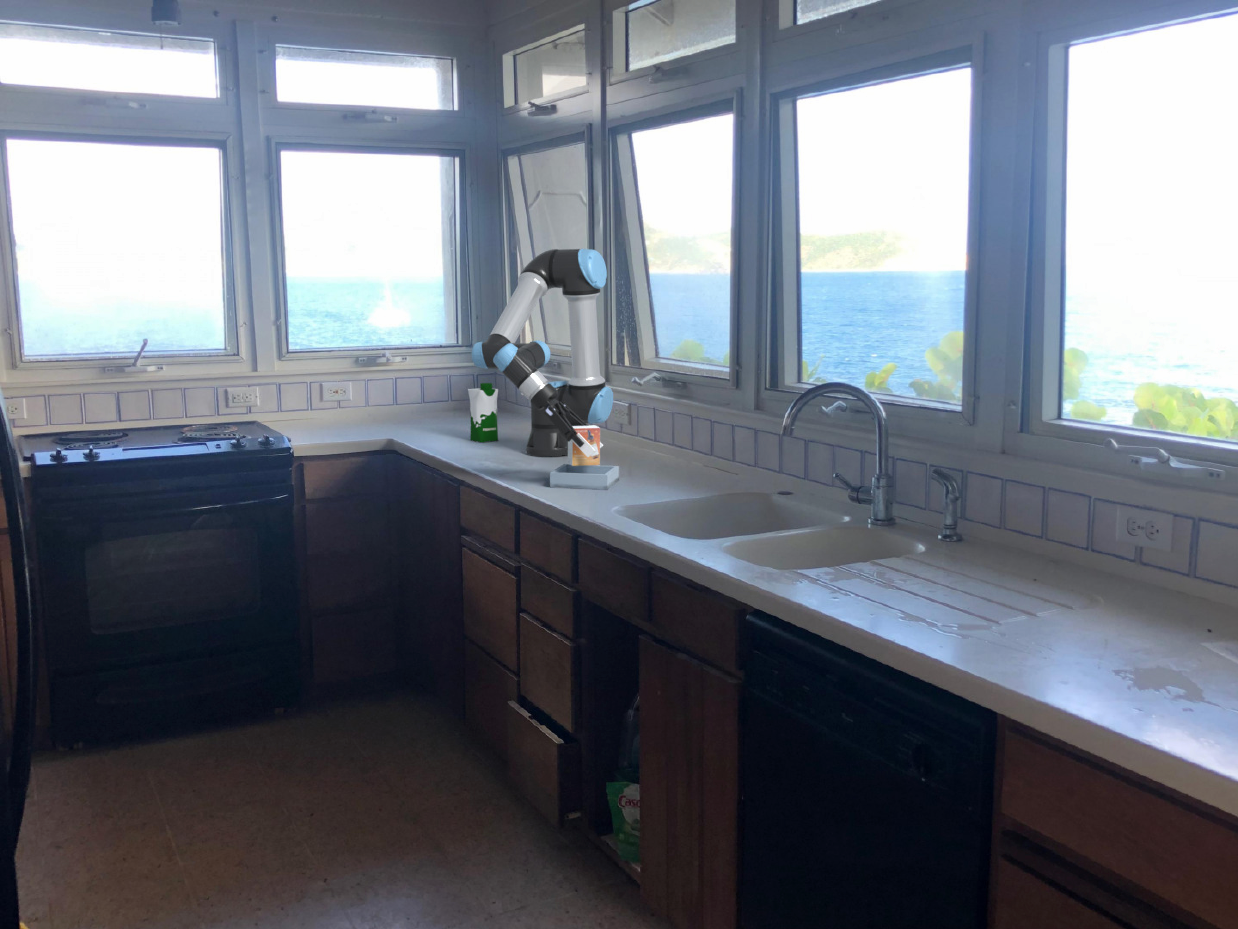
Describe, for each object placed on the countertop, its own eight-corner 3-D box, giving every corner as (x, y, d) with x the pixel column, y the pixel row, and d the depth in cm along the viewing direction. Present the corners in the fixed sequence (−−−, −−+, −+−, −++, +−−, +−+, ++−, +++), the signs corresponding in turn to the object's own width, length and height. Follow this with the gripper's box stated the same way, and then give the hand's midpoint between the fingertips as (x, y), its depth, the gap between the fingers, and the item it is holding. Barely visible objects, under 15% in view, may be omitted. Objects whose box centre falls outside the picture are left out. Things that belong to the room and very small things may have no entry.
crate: (564, 477, 307) (563, 464, 306) (618, 480, 303) (618, 466, 302) (550, 487, 293) (549, 472, 292) (607, 489, 290) (607, 475, 289)
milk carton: (480, 443, 369) (479, 384, 366) (466, 440, 376) (464, 382, 372) (501, 440, 375) (500, 383, 371) (487, 437, 381) (486, 381, 378)
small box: (571, 466, 293) (571, 428, 291) (567, 463, 298) (567, 425, 297) (600, 465, 295) (600, 427, 293) (595, 462, 300) (595, 424, 299)
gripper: (541, 396, 307) (595, 454, 307) (517, 405, 287) (576, 467, 286) (559, 378, 305) (614, 436, 305) (536, 385, 285) (595, 448, 284)
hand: (595, 451), depth 295 cm, fingers closed on small box, 8 cm apart
